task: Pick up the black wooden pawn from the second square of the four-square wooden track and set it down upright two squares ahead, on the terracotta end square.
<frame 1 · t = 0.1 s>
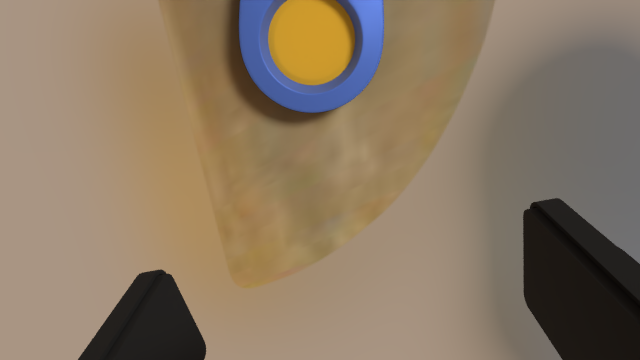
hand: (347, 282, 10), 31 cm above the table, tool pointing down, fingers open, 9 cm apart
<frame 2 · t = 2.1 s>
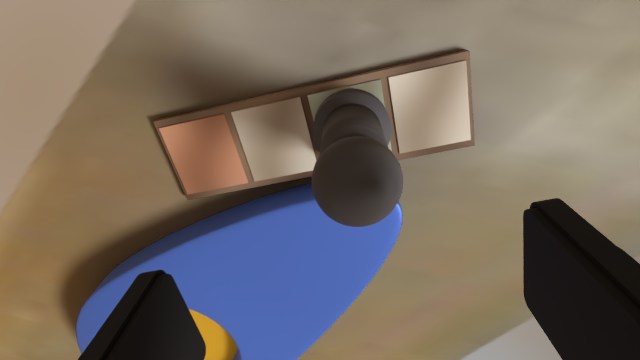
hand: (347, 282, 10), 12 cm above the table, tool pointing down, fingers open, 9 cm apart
pawn: (351, 126, 20), point 1 cm above the table, touching board
board: (313, 130, 21), on the table
location marker: (245, 278, 27), on the table
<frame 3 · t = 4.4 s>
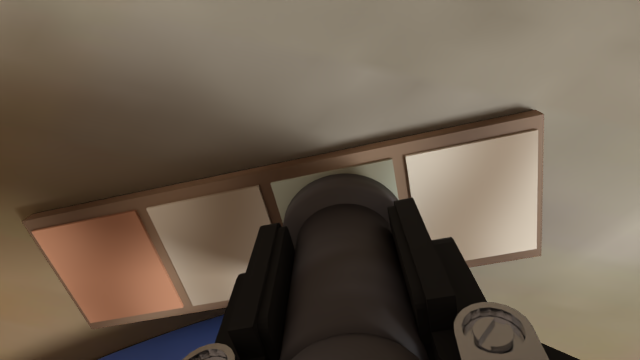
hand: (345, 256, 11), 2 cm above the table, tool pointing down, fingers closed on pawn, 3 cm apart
pawn: (344, 229, 12), point 1 cm above the table, touching gripper
board: (284, 230, 13), on the table
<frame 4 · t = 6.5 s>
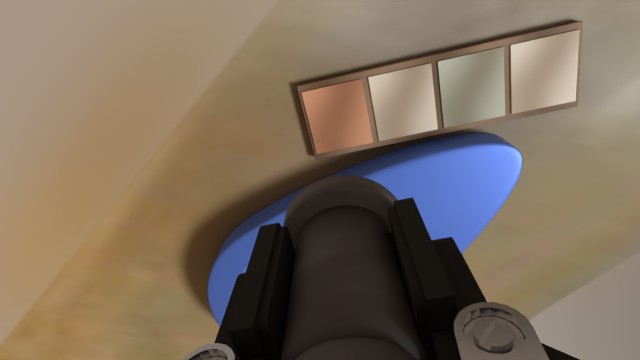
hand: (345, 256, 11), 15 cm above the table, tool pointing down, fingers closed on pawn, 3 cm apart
pawn: (344, 230, 12), point 14 cm above the table, touching gripper
board: (435, 94, 24), on the table
location marker: (355, 234, 29), on the table
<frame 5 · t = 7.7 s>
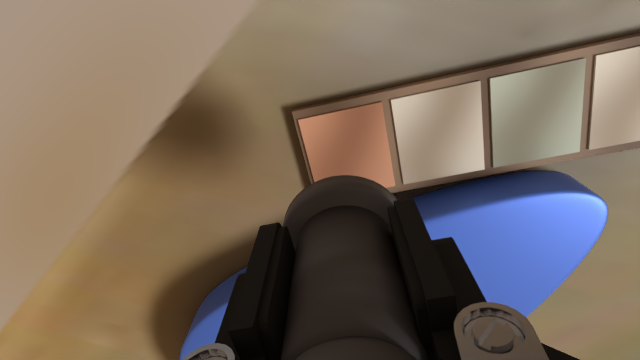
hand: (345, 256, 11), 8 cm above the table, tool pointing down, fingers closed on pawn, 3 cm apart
pawn: (344, 230, 12), point 7 cm above the table, touching gripper
board: (482, 122, 17), on the table
location marker: (370, 293, 23), on the table
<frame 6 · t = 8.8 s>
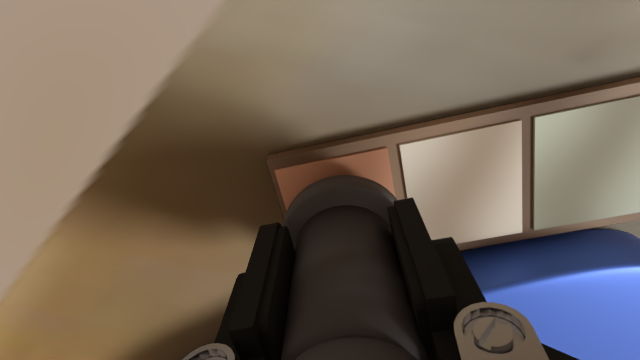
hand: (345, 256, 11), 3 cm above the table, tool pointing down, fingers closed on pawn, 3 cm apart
pawn: (344, 230, 12), point 2 cm above the table, touching gripper
board: (519, 171, 13), on the table
when the fingers open (3 cm above the table, at t = 9.2 s): pawn stays where it is, resting on board.
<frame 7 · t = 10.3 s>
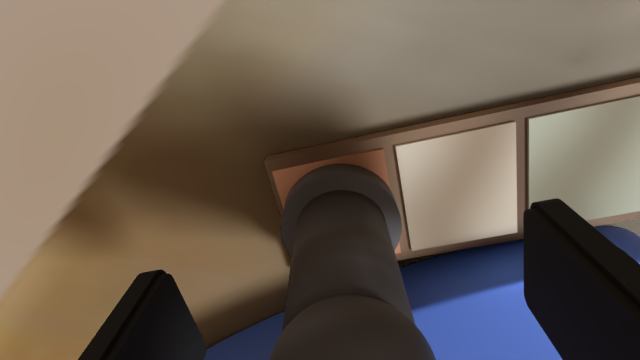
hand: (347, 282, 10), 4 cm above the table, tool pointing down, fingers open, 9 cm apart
pawn: (340, 215, 13), point 1 cm above the table, touching board
board: (514, 172, 13), on the table
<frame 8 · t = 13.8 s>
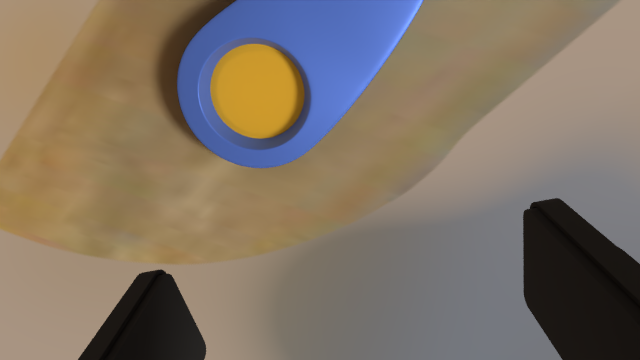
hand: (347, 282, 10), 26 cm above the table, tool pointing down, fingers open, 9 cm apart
location marker: (309, 45, 33), on the table
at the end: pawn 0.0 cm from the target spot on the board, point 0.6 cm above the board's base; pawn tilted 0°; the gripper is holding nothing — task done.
